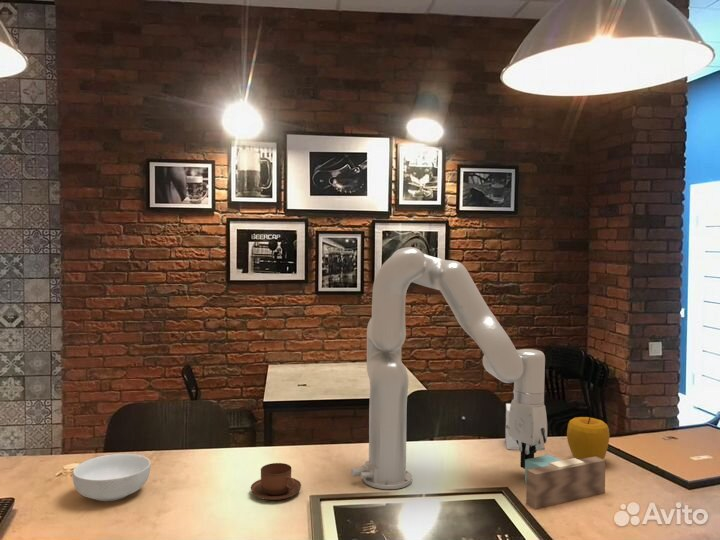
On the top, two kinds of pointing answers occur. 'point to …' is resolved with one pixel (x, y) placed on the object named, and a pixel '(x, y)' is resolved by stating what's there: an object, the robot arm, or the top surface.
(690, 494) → the top surface
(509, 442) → the ink box
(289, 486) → the cup and saucer
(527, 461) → the teal block
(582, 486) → the walnut box
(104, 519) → the top surface
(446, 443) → the top surface
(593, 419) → the apple
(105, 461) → the cereal bowl
